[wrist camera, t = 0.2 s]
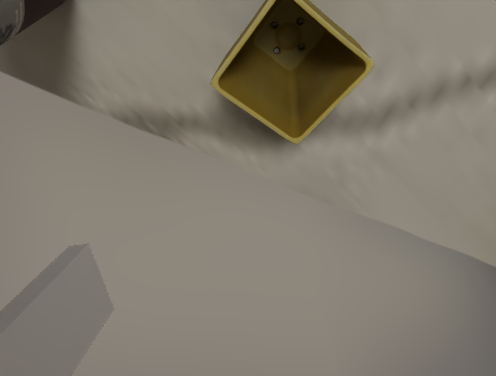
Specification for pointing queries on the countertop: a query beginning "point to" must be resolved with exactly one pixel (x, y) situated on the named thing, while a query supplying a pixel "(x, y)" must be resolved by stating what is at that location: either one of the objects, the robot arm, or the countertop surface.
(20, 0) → the wine bottle
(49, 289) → the robot arm
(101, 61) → the countertop surface
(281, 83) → the flower pot
